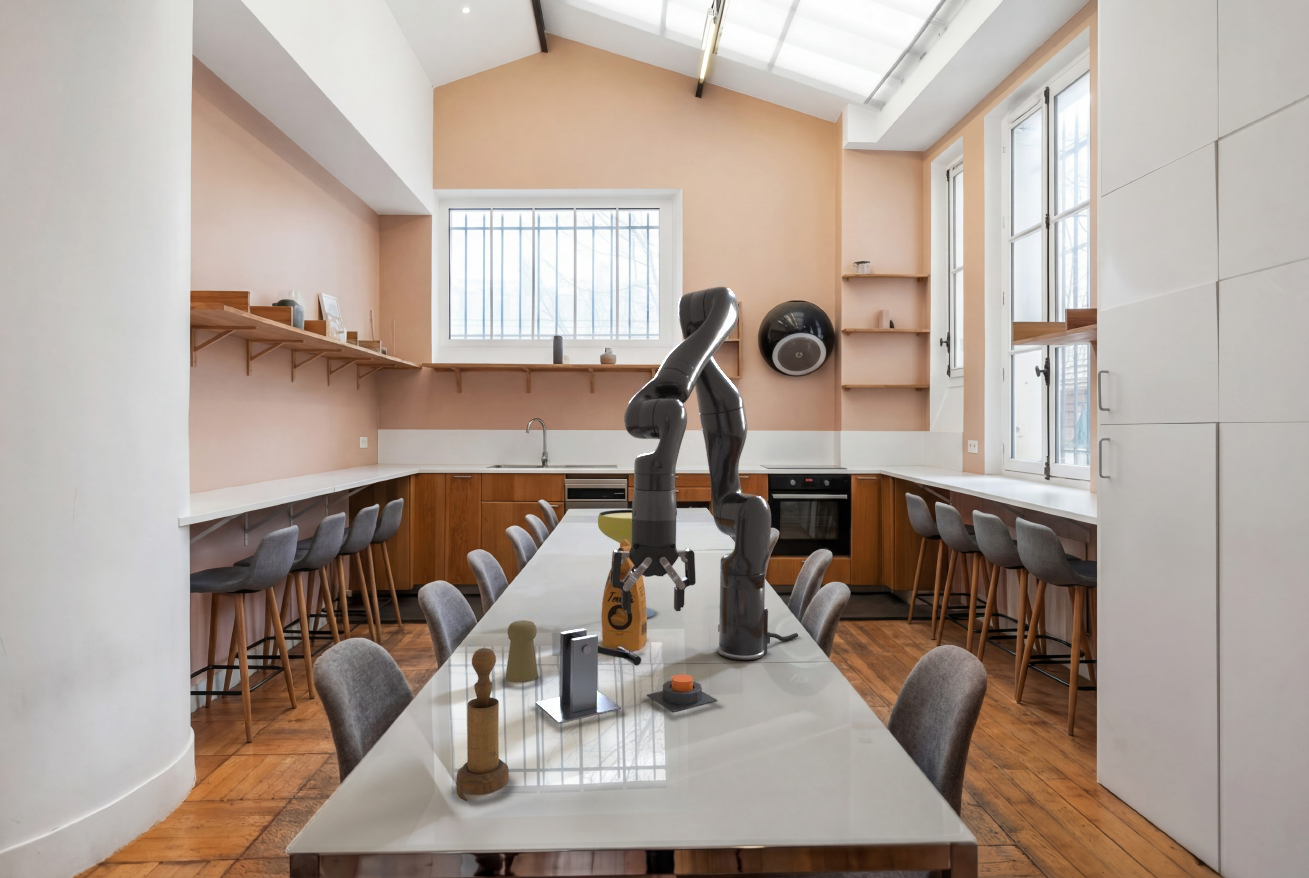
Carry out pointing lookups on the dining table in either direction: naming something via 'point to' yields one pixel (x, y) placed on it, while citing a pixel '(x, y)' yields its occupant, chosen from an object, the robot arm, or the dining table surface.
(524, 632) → the cork
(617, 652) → the black t-handle
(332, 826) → the dining table surface
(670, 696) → the control block
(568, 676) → the lever stand
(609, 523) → the cocktail glass
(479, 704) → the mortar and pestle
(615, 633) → the coffee package
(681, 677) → the button
